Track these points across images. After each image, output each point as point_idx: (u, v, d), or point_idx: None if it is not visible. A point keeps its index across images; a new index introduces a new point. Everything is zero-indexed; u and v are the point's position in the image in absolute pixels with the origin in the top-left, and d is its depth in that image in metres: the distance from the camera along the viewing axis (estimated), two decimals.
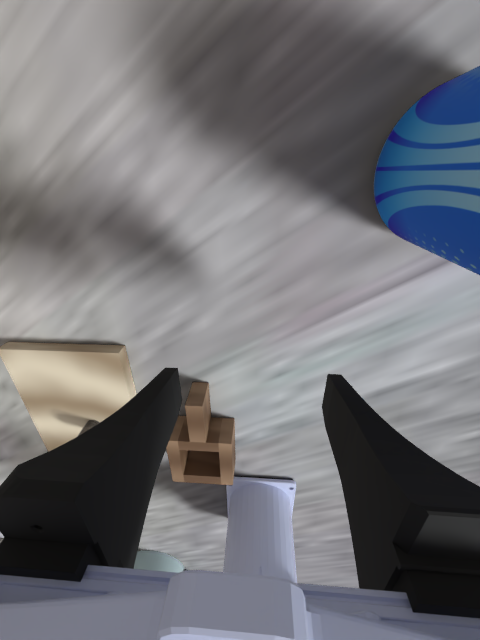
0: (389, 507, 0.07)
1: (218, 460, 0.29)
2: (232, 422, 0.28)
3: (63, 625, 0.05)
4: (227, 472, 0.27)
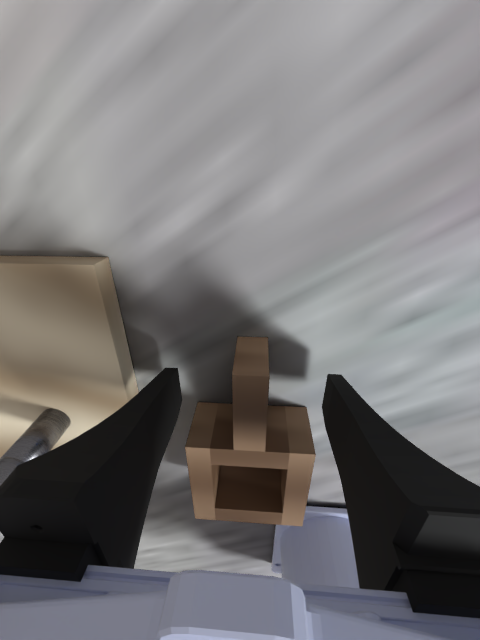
0: (389, 507, 0.07)
1: (273, 480, 0.17)
2: (305, 414, 0.15)
3: (63, 625, 0.05)
4: (296, 505, 0.15)
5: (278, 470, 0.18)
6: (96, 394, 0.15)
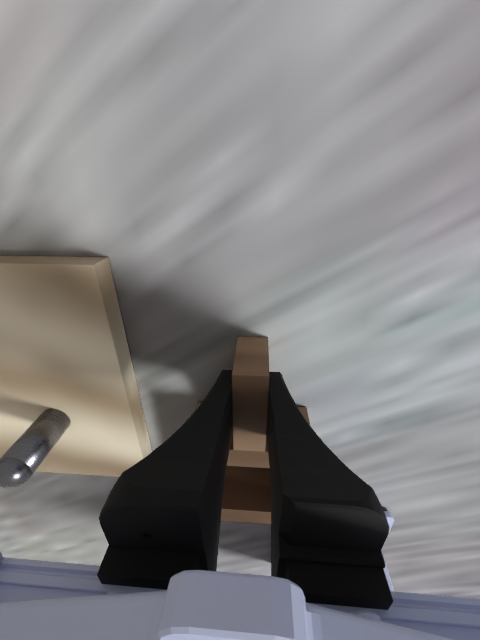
0: (279, 499, 0.07)
1: None
2: (305, 414, 0.15)
3: (63, 625, 0.05)
4: None
5: None
6: (96, 394, 0.15)
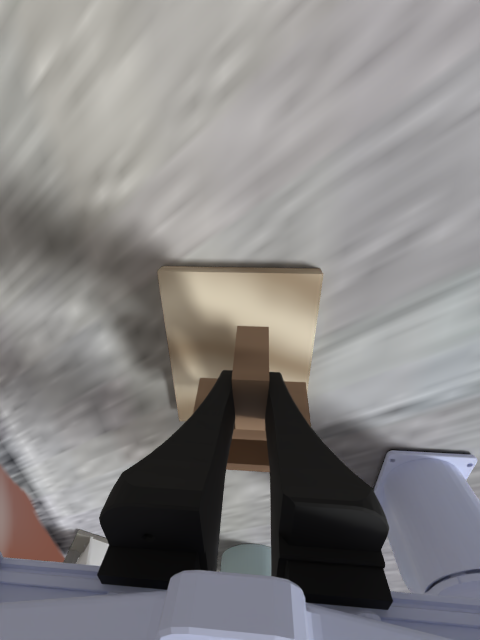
0: (278, 499, 0.07)
1: None
2: (304, 390, 0.16)
3: (63, 625, 0.05)
4: None
5: None
6: (289, 361, 0.21)
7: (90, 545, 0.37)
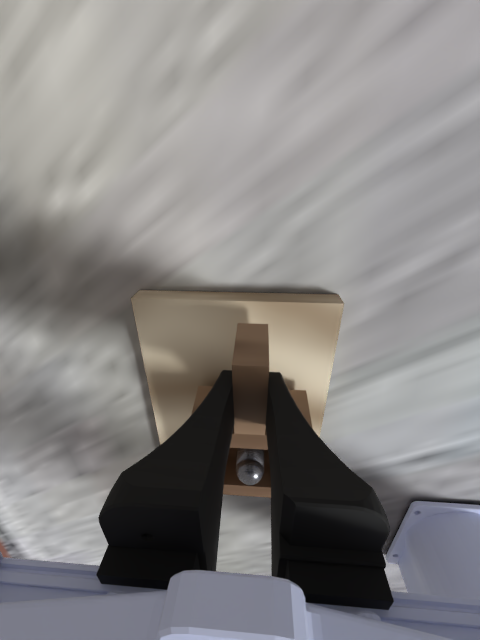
0: (279, 499, 0.07)
1: None
2: (304, 397, 0.15)
3: (62, 626, 0.05)
4: None
5: None
6: None
7: None
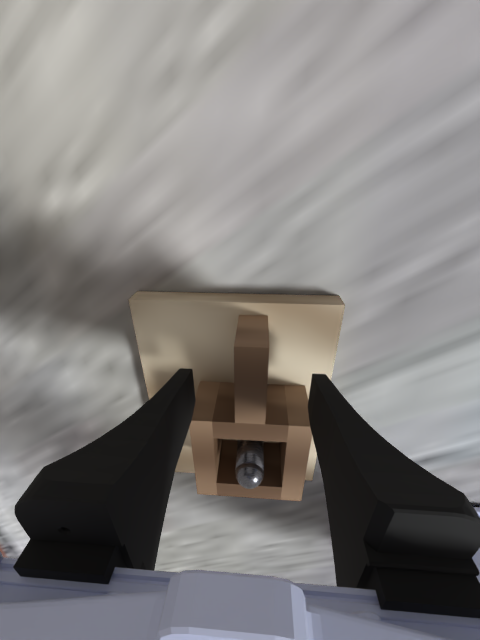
0: (361, 505, 0.07)
1: (272, 458, 0.18)
2: (303, 391, 0.16)
3: (63, 625, 0.05)
4: (295, 479, 0.16)
5: (278, 449, 0.18)
6: None
7: None
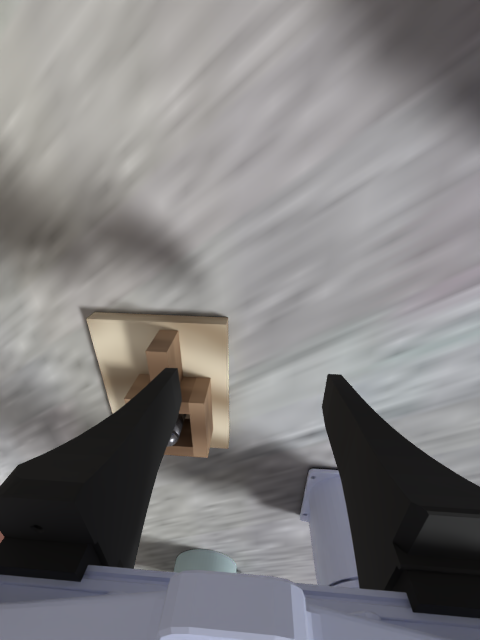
0: (389, 507, 0.07)
1: None
2: (207, 381, 0.23)
3: (63, 626, 0.05)
4: (200, 441, 0.23)
5: None
6: None
7: None
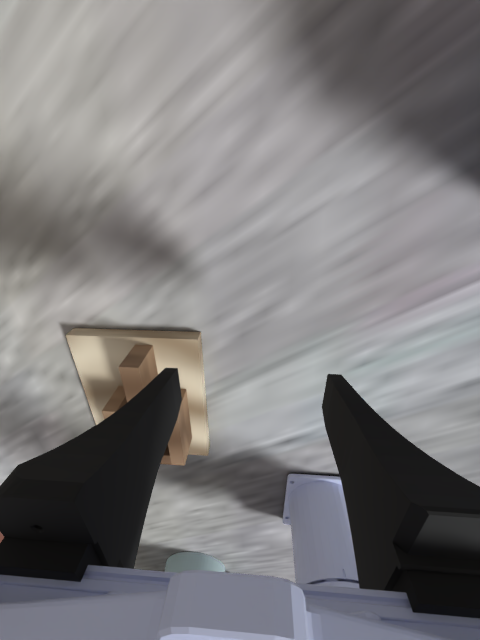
0: (389, 507, 0.07)
1: None
2: (183, 393, 0.24)
3: (63, 625, 0.05)
4: (176, 450, 0.24)
5: None
6: None
7: None
